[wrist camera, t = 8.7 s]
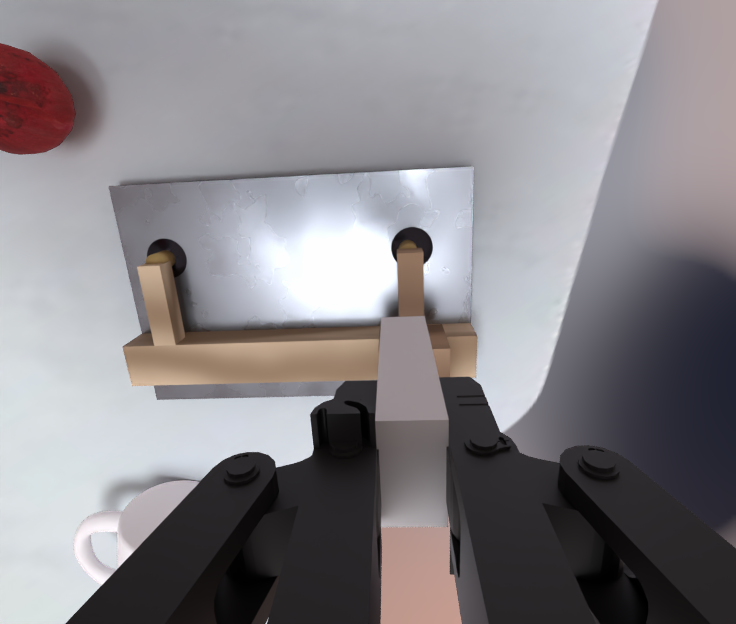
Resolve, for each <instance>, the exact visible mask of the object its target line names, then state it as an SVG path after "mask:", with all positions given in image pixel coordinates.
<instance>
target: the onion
mask: <svg viewBox="0 0 736 624" xmlns="http://www.w3.org/2000/svg"><path fill="white" fill-rule="evenodd" d="M74 118H75V109H74V104H73V99H72V95H71V94H70V92H69V90H68V89H67V87H66V86H65V84H64V83H63V81H62V80H61V78H60V77H59V75H58V74H57V72H56V71H54V70H53V69H52V68H50V67H49V66H48V65H46V64H45V63H44V62H42V61H41V60H40V59H38V58H37V57H35V56H34V55H32V54H31V53H29V52H27V51H24V50H21V49H18V48H15V47H11V46H8V45H5V44H1V43H0V150H2V151H5V152H8V153H13V154H36V153H43V152H46V151H48V150H51V149H53V148H55V147H57V146H59V145H60V144H61V143H62V142H63V140H64V139H65V138H66V137H67V135H68V134H69V133H70V131H71V130H72V127H73V122H74Z"/></svg>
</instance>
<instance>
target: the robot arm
mask: <svg viewBox="0 0 736 624" xmlns="http://www.w3.org/2000/svg"><path fill="white" fill-rule="evenodd" d="M310 417H311V426H312V436H313V445H314V450H313V454H312V456H311V457H309V458H307V459H305V460H303V461H300V462H297V463H294V464H290V465H286V466H281V467H277V468H276V466H275V461H274V460H273V459H272V458H271V457H270V456H269V455H266V454H263V453H260V452H246V453H240V454H237V455H233V456H231V457H229V458H227V459H225V460H223V461H221V462H220V463H219V464H218V465H216V466H215V467H214V468H213V469H212V470H211V471H210V472H209V473H208V474H207V475H206V476H205V477H204V478H203V479H202V480H201V481H200V482H199V483H198V484H197V486H196V487H195V488H194V489H193V490H192V491H191V492H190V493H189V494H188V495H187V496H186V497H185V498H184V499H183V500H182V501H181V502H180V503H179V505H178V506H177V507H176V508H175V509H174V510H173V511H172V512H171V513H170V514H169V515H168V516H167V517H166V518H165V519H164V520H163V521H162V522H161V523H160V525H159V526H158V527H157V528H156V529H155V530H154V531H153V532H152V533H151V534H150V535H149V536H148V537H147V538H146V539H145V540H144V541H143V542H142V544H141V545H140V546H139V547H138V548H137V549H136V550H135V551H134V552H133V553H132V554H131V555H130V556H129V557H128V558H127V559H126V560H125V561H124V563H123V564H122V565H121V566H120V567H119V568H118V569H117V570H116V571H115V572H114V573H113V574H112V575H111V576H110V577H109V578H108V579H107V580H106V581H105V583H104V584H103V585H102V586H101V587H100V588H99V589H98V590H97V591H96V592H95V593H94V594H93V595H92V596H91V597H90V598H89V599H88V600H87V602H86V603H85V604H84V605H83V606H82V607H81V608H80V609H79V610H78V611H77V612H76V613H75V614H74V615H73V616H72V617H71V618H70V619H69V620H68V622H67V623H66V624H265V623H266V621H267V619H268V617H269V619H268V622H267V624H380V619H381V617H380V615H381V564H382V540H381V527H448V516H449V522H450V574H454V575H455V582H456V588H457V594H458V601H459V607H460V614H461V620H462V624H736V548H734V547H733V546H732V545H731V544H730V543H728V542H727V541H726V540H725V539H723V538H722V537H721V536H720V535H719V534H718V533H716V532H715V531H714V530H713V529H711V528H710V527H709V526H708V525H707V524H705V523H704V522H703V521H702V520H700V519H699V518H698V517H697V516H696V515H694V514H693V513H692V512H691V511H690V510H688V509H687V508H686V507H685V506H683V505H682V504H681V503H680V502H679V501H677V500H676V499H675V498H674V497H673V496H671V495H670V494H669V493H668V492H666V491H665V490H664V489H663V488H662V487H660V486H659V485H658V484H657V483H655V482H654V481H653V480H652V479H651V478H649V477H648V476H647V475H646V474H645V473H643V472H642V471H641V470H640V469H639V468H637V467H636V466H635V465H634V464H632V463H631V462H630V461H629V460H627V459H625V458H624V457H622V456H621V455H619V454H618V453H615V452H612V451H610V450H607V449H605V448H600V447H595V446H589V445H588V446H574V447H571V448H568V449H566V450H565V451H564V452H563V453H562V454H561V455H560V463H556V462H551V461H546V460H541V459H537V458H533V457H529V456H526V455H524V454H522V453H519V451H518V449H517V446H516V445H515V443H514V442H513V441H512V439H511V438H509V437H508V436H506V435H505V434H503V433H501V432H500V431H499V428H498V426H497V423H496V421H495V419H494V416H493V414H492V411H491V409H490V406H488V402H487V399H486V397H485V394H484V392H483V390H482V387H481V385H480V384H479V383H477V382H476V381H475V380H473V379H472V378H471V377H439V376H438V371H437V367H436V363H435V358H434V354H433V350H432V346H431V341H430V337H429V333H428V328H427V324H426V320H425V316H410V317H381V331H380V347H379V364H378V380H364V381H345V382H344V383H343V384H342V385H341V386H340V387H339V388H337V389H336V392H335V396H334V399H332V400H329V401H326V402H323V403H321V404H320V405H318V406H317V407H315V408H314V410H313V411H312V413H311V414H310Z"/></svg>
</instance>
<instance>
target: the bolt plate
mask: <svg viewBox="0 0 736 624" xmlns="http://www.w3.org/2000/svg"><path fill="white" fill-rule="evenodd" d="M473 182H474V166H471V167H452V168H434V169H416V170H397V171H379V172H360V173H342V174H324V175H305V176H287V177H269V178H250V179H232V180H213V181H195V182H177V183H158V184H140V185H121V186H109V190H110V194H111V199H112V203H113V207H114V212H115V216H116V221H117V225H118V229H119V234H120V238H121V243H122V247H123V251H124V256H125V260H126V265H127V269H128V274H129V278H130V282H131V287H132V291H133V296H134V300H135V304H136V309H137V313H138V318H139V322H140V326H141V331H142V334H148V333H151V328H150V324H149V319H148V315H147V310H146V306H145V301H144V297H143V292H142V288H141V283H140V278H139V274H138V269H137V266H140V265H143V264H145V263H146V258H147V257H148V256H149V255H152V254H155V253H157V252H160V251H163V250H168V251H170V252H172V253H173V254H174V256H175V263H174V265H173V266H172V271H173V276H174V281H175V286H176V291H177V296H178V302H179V307H180V312H181V317H182V322H183V327H184V332H209V331H240V330H270V329H301V328H332V327H362V326H381V317H399V304H398V272H397V249H399V245H400V244H401V243H402V242H403V241H405V240H411V241H413V242H414V243H415V244H416V247H417V248H422V250H423V261H424V316H425V320H426V324H455V323H470V320H471V274H472V228H473ZM353 381H364V380H353ZM344 382H345V381H313V382H273V383H233V384H193V385H154V388H155V393H156V397H157V400H163V399H207V398H251V397H294V396H335V392H336V389H337V388H339V387H340V386H341V385H342V384H343V383H344Z"/></svg>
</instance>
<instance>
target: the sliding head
mask: <svg viewBox="0 0 736 624" xmlns="http://www.w3.org/2000/svg"><path fill="white" fill-rule="evenodd" d="M397 272H398V304H399V317H410V316H424V261H423V250H422V248H417V247H416V244H415V243H414V242H413V241H411V240H405V241H403V242H402V243H401V244H400V245H399V249H397ZM427 328H428V333H429V337H430V341H431V346H432V350H433V354H434V358H435V363H436V367H437V371H438V376H439V377H450V346H449V343H448V340H447V337H446V334H445V331H444V328H443V325H442V324H432V325H427ZM380 331H381V326H380ZM380 331H379V346H378V356H379V347H380Z"/></svg>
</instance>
